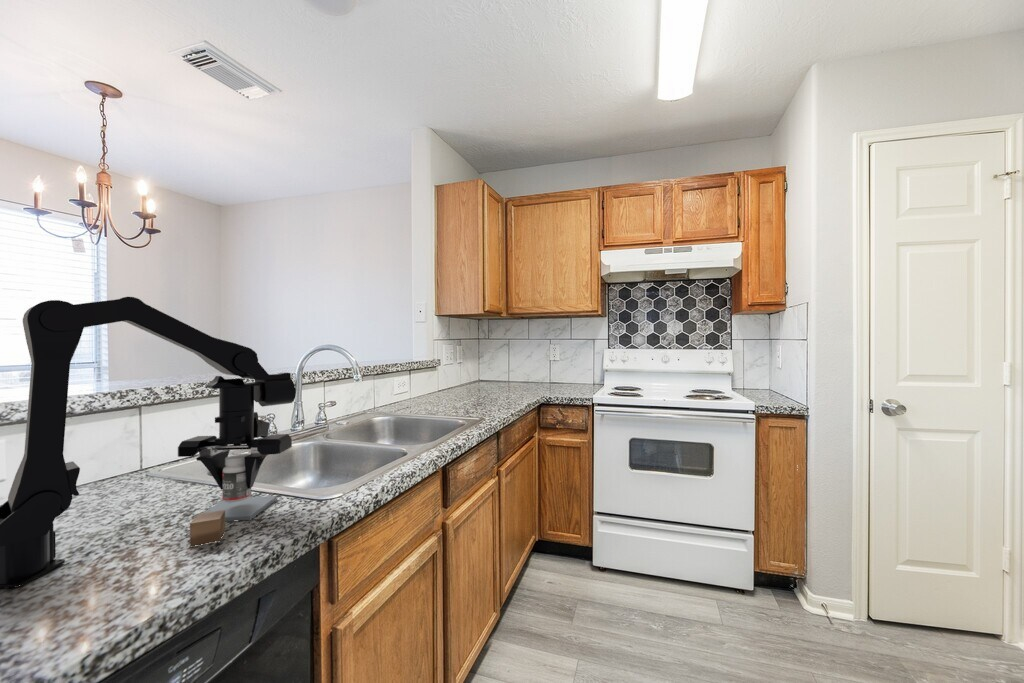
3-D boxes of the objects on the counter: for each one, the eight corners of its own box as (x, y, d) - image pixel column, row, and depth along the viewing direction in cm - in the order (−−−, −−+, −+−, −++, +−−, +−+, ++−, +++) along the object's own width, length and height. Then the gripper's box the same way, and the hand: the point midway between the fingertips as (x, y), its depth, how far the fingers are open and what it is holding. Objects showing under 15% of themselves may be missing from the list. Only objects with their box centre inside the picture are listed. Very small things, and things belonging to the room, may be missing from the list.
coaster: (250, 520, 76) (250, 516, 76) (193, 522, 75) (193, 518, 75) (276, 499, 86) (276, 496, 86) (226, 501, 85) (226, 497, 85)
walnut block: (219, 542, 68) (219, 518, 68) (190, 548, 66) (189, 523, 66) (225, 532, 71) (225, 510, 72) (197, 537, 70) (197, 514, 70)
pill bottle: (217, 500, 80) (217, 457, 80) (242, 492, 84) (242, 452, 84) (230, 504, 77) (230, 460, 77) (256, 496, 82) (256, 454, 82)
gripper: (303, 403, 89) (303, 473, 89) (213, 404, 88) (213, 476, 88) (278, 411, 78) (278, 492, 78) (175, 413, 77) (175, 495, 77)
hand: (237, 488), depth 81 cm, fingers closed on pill bottle, 5 cm apart
